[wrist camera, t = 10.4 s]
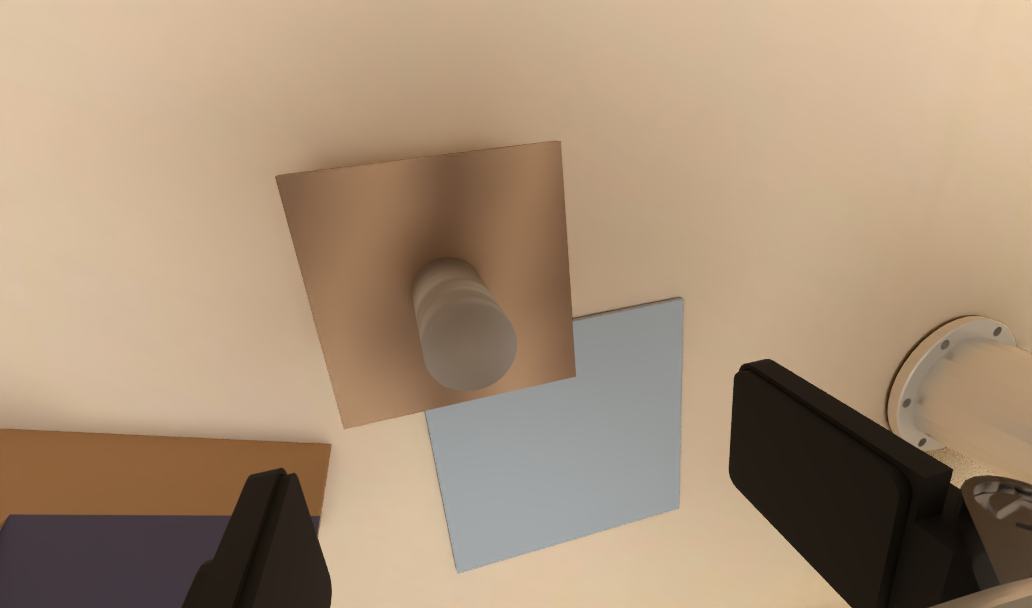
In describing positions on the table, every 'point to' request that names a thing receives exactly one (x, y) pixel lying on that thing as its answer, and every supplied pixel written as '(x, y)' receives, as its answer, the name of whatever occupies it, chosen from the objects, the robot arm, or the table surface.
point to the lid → (435, 276)
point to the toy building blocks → (126, 512)
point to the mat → (568, 443)
